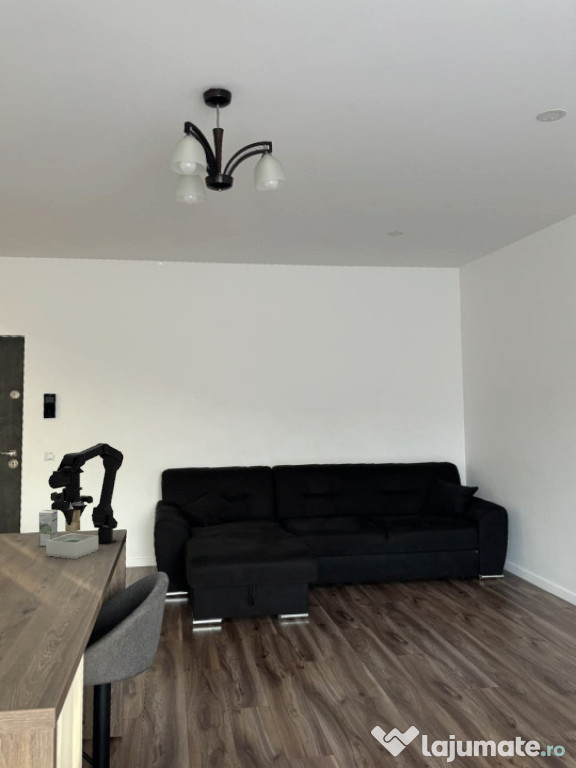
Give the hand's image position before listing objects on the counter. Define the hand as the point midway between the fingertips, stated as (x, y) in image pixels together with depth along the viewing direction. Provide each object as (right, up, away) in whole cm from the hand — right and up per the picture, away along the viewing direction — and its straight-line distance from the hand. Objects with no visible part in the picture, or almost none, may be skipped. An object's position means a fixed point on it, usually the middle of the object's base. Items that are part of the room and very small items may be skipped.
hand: (72, 524), depth 252 cm
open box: (0, -12, 0) cm, 12 cm away
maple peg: (0, -3, 0) cm, 2 cm away
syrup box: (-15, -12, +14) cm, 24 cm away
